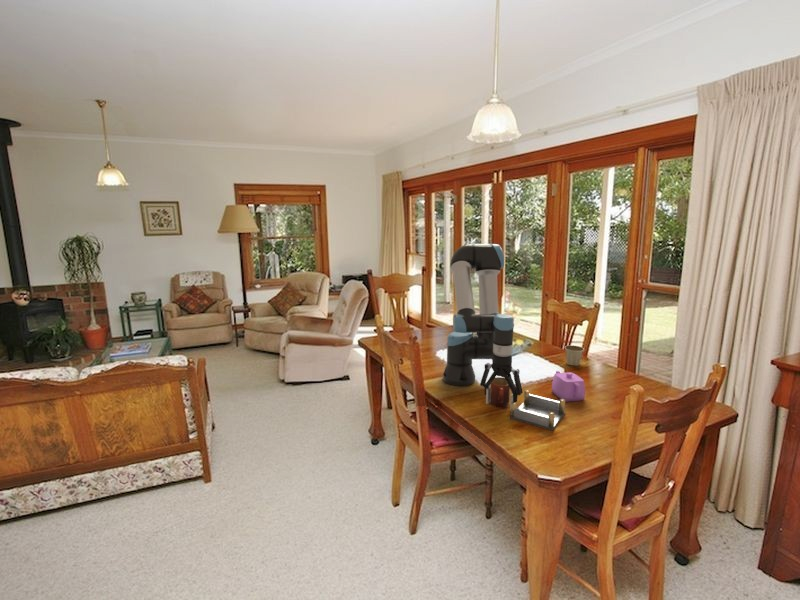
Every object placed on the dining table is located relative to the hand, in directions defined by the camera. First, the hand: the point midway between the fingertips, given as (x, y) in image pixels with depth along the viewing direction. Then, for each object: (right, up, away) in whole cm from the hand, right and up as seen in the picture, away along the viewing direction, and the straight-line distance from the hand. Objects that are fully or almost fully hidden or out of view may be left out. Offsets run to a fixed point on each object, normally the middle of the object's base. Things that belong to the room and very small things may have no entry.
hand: (500, 406), depth 167 cm
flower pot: (+49, +10, +47) cm, 69 cm away
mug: (0, 0, 0) cm, 0 cm away
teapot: (+31, +2, +10) cm, 33 cm away
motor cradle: (+13, -2, -8) cm, 15 cm away
